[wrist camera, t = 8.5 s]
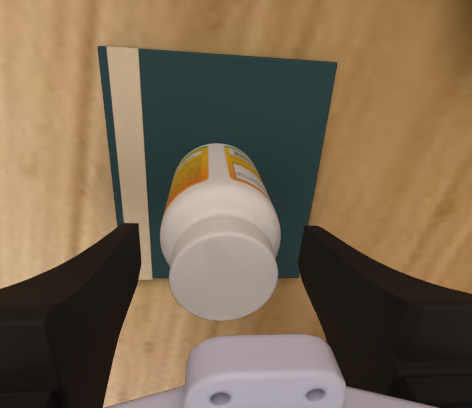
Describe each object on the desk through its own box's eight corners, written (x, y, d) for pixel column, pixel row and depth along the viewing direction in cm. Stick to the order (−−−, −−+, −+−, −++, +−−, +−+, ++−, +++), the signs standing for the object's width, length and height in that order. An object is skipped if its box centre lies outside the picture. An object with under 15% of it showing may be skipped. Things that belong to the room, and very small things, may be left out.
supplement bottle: (176, 221, 21) (154, 340, 12) (170, 141, 19) (138, 217, 10) (256, 219, 21) (291, 332, 13) (260, 141, 19) (305, 213, 10)
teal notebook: (296, 271, 25) (299, 279, 24) (125, 272, 23) (122, 279, 22) (333, 62, 18) (338, 62, 18) (101, 46, 17) (96, 45, 16)
